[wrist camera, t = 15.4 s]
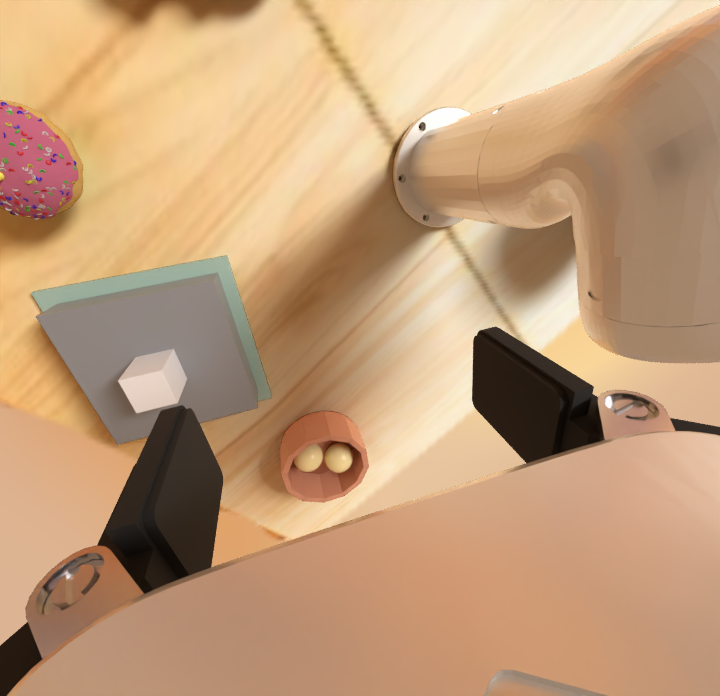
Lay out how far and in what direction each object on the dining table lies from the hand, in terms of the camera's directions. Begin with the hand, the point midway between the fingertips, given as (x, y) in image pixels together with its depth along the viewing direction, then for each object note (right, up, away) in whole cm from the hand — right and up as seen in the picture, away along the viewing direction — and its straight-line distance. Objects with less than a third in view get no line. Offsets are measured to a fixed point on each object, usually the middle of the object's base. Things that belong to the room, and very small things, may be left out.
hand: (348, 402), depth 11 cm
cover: (-23, +1, +30) cm, 38 cm away
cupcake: (-29, +19, +21) cm, 41 cm away
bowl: (-6, -13, +43) cm, 45 cm away
